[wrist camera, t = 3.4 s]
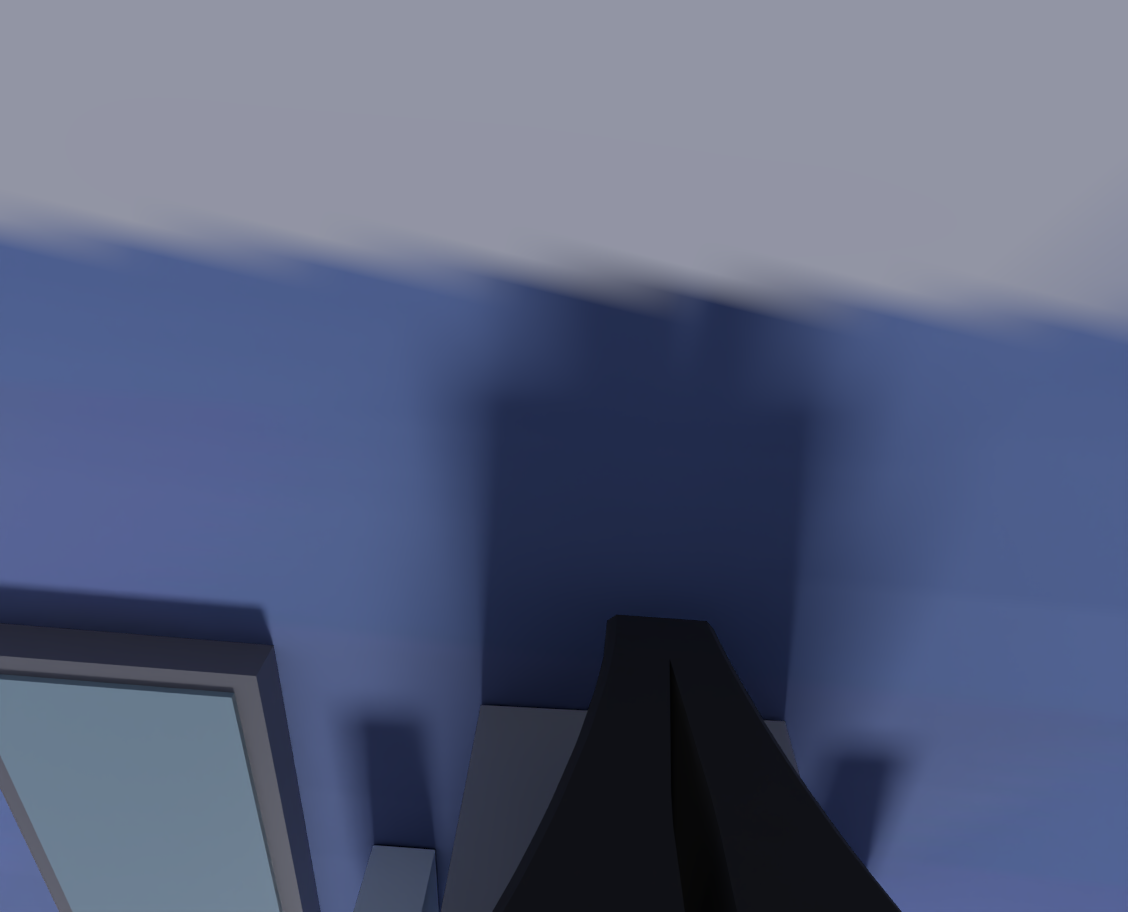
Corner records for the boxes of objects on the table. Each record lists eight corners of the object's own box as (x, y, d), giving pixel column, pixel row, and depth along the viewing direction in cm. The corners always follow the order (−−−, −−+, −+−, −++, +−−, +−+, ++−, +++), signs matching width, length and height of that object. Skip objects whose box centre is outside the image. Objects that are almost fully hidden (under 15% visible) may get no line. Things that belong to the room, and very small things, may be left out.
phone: (286, 622, 12) (253, 680, 11) (335, 926, 17) (315, 990, 15) (-9, 600, 12) (-71, 655, 11) (118, 908, 17) (82, 970, 15)
